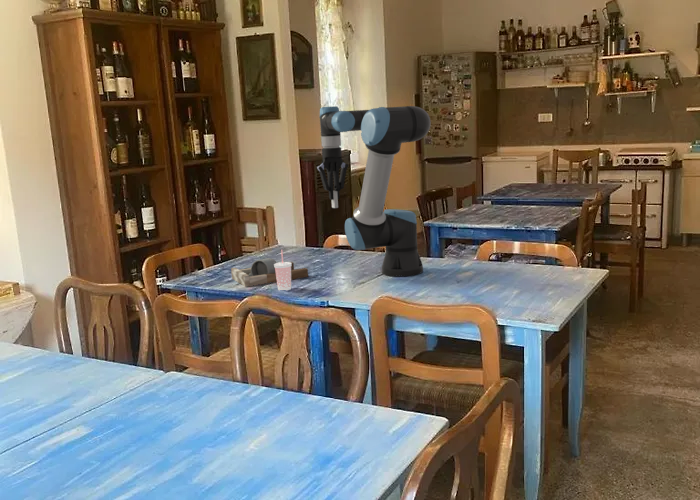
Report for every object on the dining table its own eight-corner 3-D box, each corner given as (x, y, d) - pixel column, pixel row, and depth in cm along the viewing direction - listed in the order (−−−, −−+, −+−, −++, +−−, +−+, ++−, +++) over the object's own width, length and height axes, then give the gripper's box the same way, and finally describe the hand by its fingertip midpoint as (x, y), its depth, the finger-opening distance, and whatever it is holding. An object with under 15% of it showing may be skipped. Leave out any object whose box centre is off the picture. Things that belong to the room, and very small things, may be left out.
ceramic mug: (280, 276, 267) (278, 256, 265) (269, 281, 260) (267, 260, 258) (256, 275, 271) (254, 256, 270) (244, 280, 264) (242, 260, 263)
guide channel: (308, 276, 264) (307, 266, 264) (245, 286, 254) (244, 275, 253) (292, 269, 279) (291, 259, 278) (232, 278, 268) (231, 268, 268)
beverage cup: (290, 291, 244) (287, 251, 242) (273, 291, 246) (270, 251, 243) (295, 286, 250) (292, 247, 248) (278, 286, 251) (275, 247, 249)
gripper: (342, 145, 282) (345, 205, 287) (312, 148, 277) (316, 208, 281) (350, 146, 276) (354, 206, 280) (320, 148, 270) (323, 210, 275)
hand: (335, 207), depth 281 cm, fingers closed
